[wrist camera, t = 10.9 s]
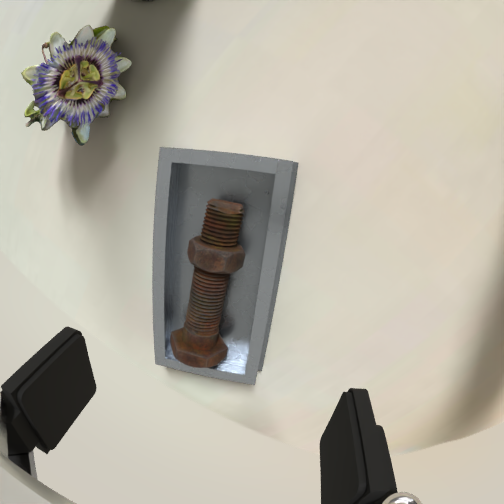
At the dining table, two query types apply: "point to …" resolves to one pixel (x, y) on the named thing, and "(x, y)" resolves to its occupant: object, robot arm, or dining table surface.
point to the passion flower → (76, 81)
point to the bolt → (209, 285)
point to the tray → (250, 238)
